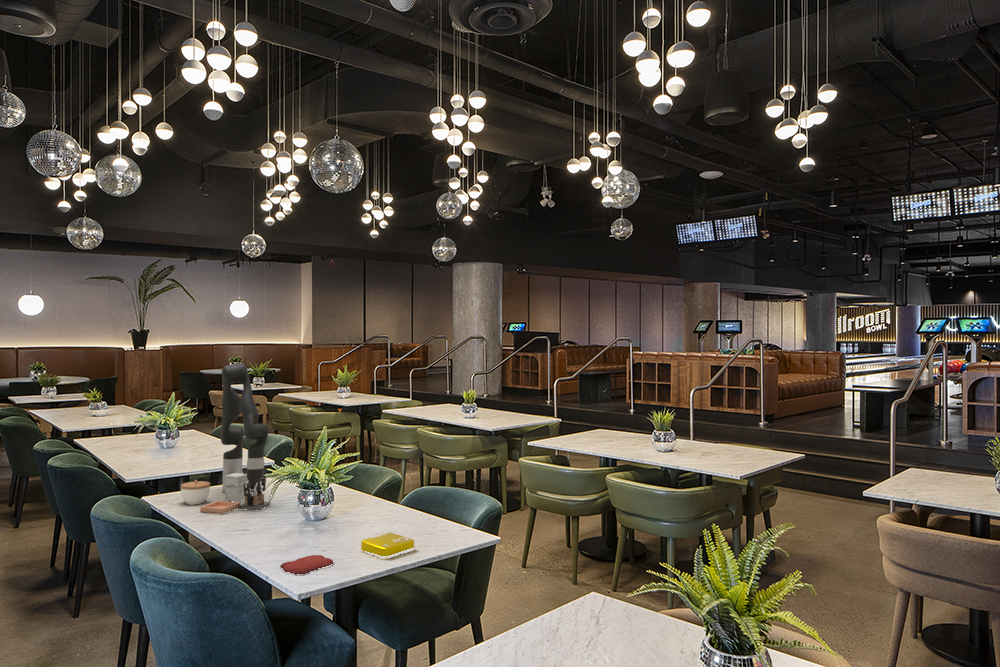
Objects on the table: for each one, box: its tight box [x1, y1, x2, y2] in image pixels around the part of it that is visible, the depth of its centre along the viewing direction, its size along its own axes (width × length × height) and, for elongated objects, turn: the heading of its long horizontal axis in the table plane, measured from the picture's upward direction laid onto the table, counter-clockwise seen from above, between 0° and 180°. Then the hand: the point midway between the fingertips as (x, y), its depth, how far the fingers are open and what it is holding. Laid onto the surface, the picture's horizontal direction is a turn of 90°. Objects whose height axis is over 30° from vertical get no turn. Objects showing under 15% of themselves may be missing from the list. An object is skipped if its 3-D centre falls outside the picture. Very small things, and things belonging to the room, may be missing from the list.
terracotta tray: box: [199, 500, 242, 515], centre depth 287 cm, size 12×12×2 cm
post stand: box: [237, 490, 271, 511], centre depth 292 cm, size 10×10×8 cm
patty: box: [280, 554, 334, 575], centre depth 216 cm, size 18×14×2 cm
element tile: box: [360, 532, 415, 556], centre depth 233 cm, size 15×15×5 cm
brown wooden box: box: [244, 493, 265, 506], centre depth 292 cm, size 6×6×4 cm
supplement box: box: [224, 473, 249, 502], centre depth 306 cm, size 7×7×13 cm
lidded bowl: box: [180, 479, 211, 506], centre depth 300 cm, size 13×13×11 cm
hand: (254, 503), depth 292 cm, fingers open, 6 cm apart
